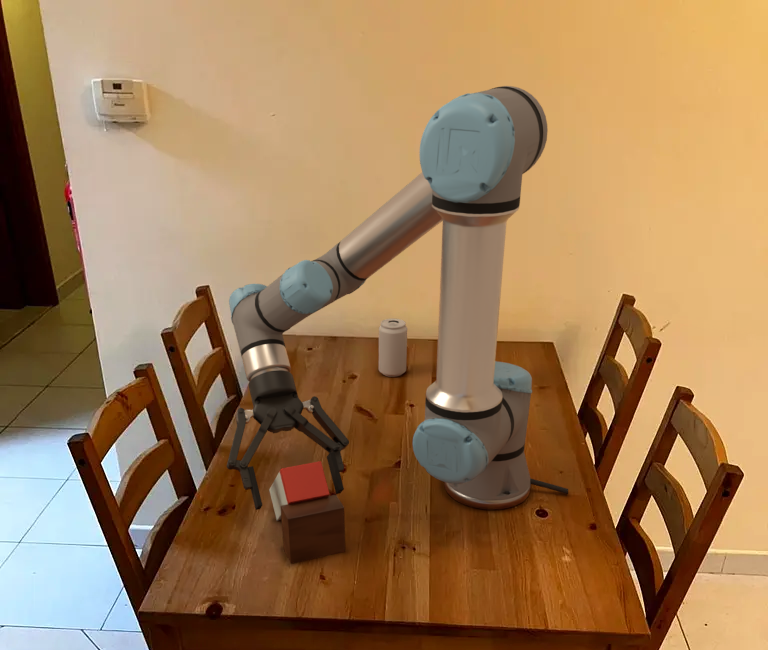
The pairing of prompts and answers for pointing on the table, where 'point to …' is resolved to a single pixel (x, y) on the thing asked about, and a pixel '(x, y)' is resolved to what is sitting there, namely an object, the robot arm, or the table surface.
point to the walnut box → (313, 528)
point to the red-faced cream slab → (298, 485)
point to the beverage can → (392, 347)
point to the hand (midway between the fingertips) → (300, 499)
